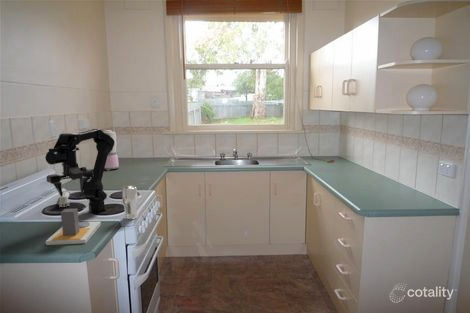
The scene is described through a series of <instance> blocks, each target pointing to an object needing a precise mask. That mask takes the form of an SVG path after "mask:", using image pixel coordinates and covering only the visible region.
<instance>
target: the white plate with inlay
mask: <svg viewBox="0 0 470 313" xmlns="http://www.w3.org/2000/svg"><path fill="white" fill-rule="evenodd" d="M100 226H102V221H79V230H80V232H79V233H78V234H77V235H73V236H63V230H62V226H60V228H59V229H58V230H56V232H55V233H53V234H52V235H51V236H50V237H49V238H47V240H45V245H46V246H49V245H50V246H53V245H54V246H55V245H56V246H57V245H72V244H73V245H75V244H86V243H87V242H88V241H89V240H90V239H91V237H92V236H93V235H94V234H95V232H97V230H98V229H99V228H100Z"/></svg>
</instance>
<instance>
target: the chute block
mask: <svg viewBox="0 0 470 313" xmlns="http://www.w3.org/2000/svg"><path fill="white" fill-rule="evenodd" d="M60 218H61V227H62V230H63V236H73V235H77V234H78V233H79V232H80V230H79V222H80V221H79V219H80V218H79V210H78V208H63V210H62V211H61V212H60Z"/></svg>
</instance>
